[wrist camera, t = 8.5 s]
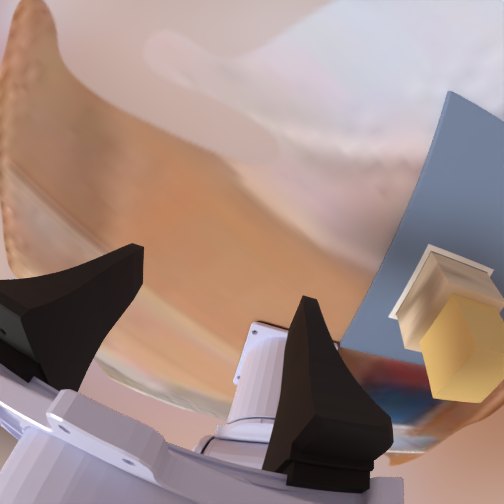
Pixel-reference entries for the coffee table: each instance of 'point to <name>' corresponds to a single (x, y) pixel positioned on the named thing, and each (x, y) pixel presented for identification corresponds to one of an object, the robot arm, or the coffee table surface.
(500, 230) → the board
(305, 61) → the coffee table surface
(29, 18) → the coffee table surface
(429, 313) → the maple base block
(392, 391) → the coffee table surface
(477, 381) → the ochre block
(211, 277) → the coffee table surface
